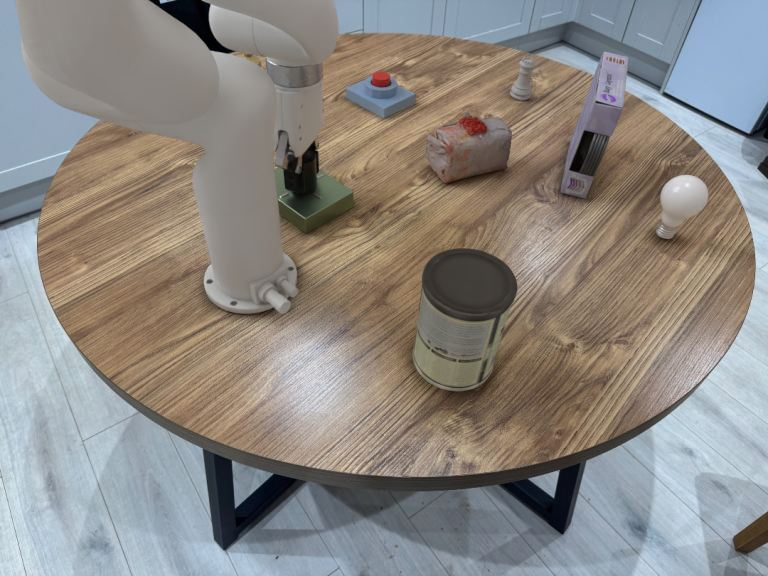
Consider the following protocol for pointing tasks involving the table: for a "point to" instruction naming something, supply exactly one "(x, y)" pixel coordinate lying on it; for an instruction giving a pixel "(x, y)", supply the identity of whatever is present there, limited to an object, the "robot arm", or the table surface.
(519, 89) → the rook chess piece
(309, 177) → the dial knob
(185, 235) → the table surface
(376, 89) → the button box
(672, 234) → the lightbulb
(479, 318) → the coffee can
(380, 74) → the button
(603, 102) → the cake pan box
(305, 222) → the knob console
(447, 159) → the food item
